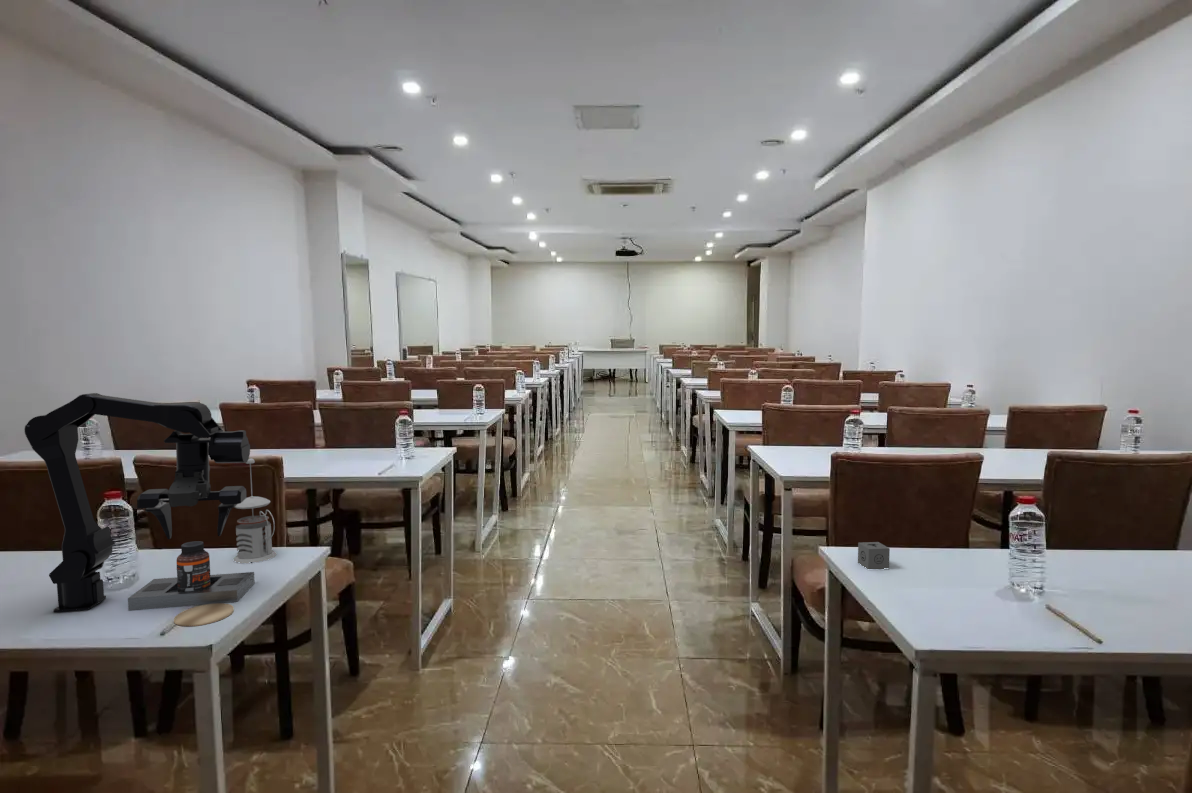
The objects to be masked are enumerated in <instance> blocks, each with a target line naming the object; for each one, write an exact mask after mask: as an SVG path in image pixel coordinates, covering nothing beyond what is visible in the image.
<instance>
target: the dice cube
mask: <svg viewBox="0 0 1192 793" xmlns="http://www.w3.org/2000/svg"><path fill="white" fill-rule="evenodd" d="M890 555H891V554H890V548H889V547H888V546H886V545H885V544H883V543H881V542H879V541H872V542H871V541H870V542H866V541H865V542H864V541H863V542H858V543H857V564H859V563H860V564H861V565H860V564H859V565H860V566H861V567H863V566H864V567H863V568H865V567H866V568H867V569H884V568H889V569H890ZM866 568H865V569H866ZM867 569H866V570H867ZM884 570H885V569H884Z"/></svg>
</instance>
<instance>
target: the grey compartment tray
mask: <svg viewBox="0 0 1192 793" xmlns="http://www.w3.org/2000/svg"><path fill="white" fill-rule="evenodd" d="M210 581H211V587H210V588H209V589H208V590H198V591H185V592H178V584H177V576H176V577H163V578H153V579H152V580H151V581H149V582H148V583H146V584H144V586H142V587H141V588H139V589H138V590H136V592H135V593H133V594H131V595H130V596H129V597H127V607H128V608H127V609H128V611H139V610H150V609H153V610H154V609H163V608H164V609H165V608H177V607H189V606H191V607H192V606H201V605H206V604H215V603H224V604H229V603H238V602H239V601H240V600H241V599H242V598H243V597H244V595H245V594H246V593H247V592H248V591H249V589H251V587H252V586H254V585H255V582H256V581H255V572H254V571H249V572H235V573H233V572H232V573H220V574H210Z"/></svg>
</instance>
